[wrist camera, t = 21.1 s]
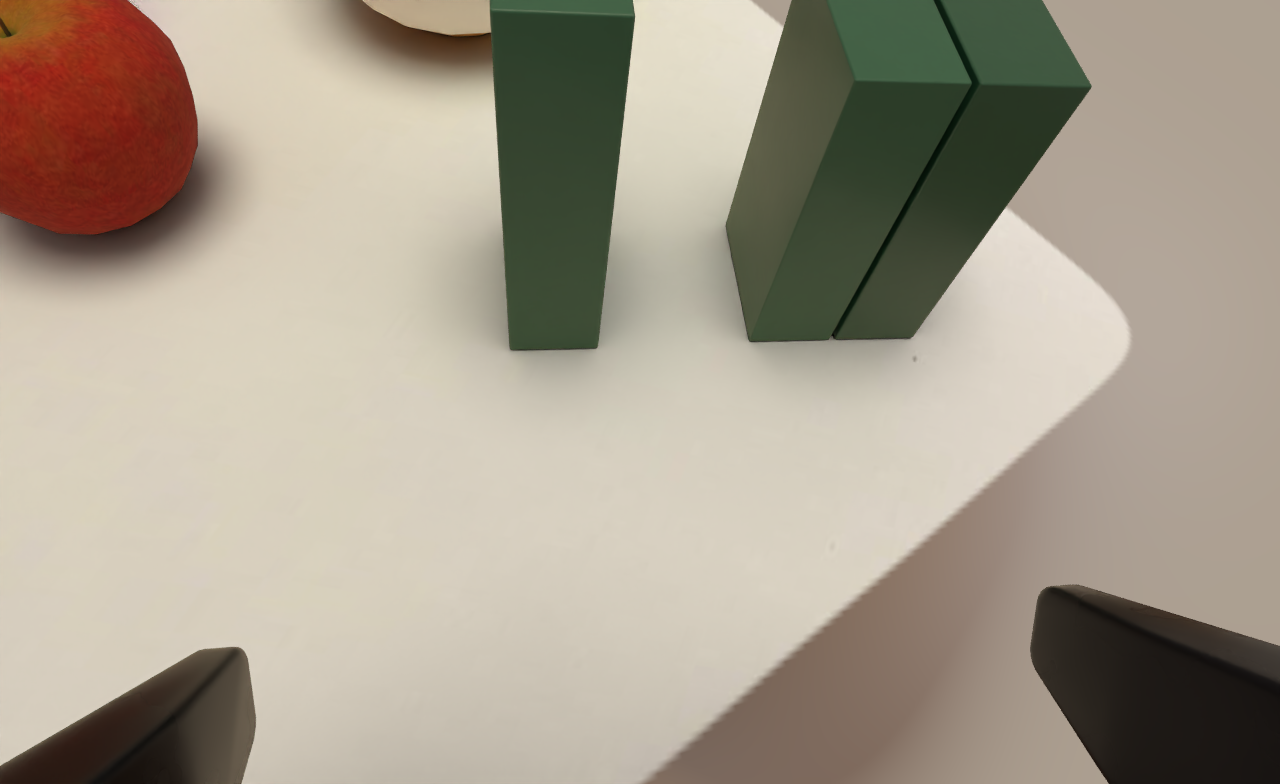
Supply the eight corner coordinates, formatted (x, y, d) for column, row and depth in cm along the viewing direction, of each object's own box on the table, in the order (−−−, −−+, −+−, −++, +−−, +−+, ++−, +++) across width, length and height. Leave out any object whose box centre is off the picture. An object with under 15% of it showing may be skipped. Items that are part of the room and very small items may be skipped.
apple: (204, 282, 27) (92, 90, 20) (-51, 277, 26) (-259, 74, 19) (247, 124, 31) (165, -80, 24) (28, 115, 30) (-122, -101, 23)
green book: (597, 348, 27) (636, 15, 16) (509, 350, 27) (489, 9, 16) (587, 227, 30) (614, -125, 19) (507, 227, 29) (488, -133, 19)
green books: (912, 338, 29) (1093, 86, 19) (748, 342, 28) (855, 79, 18) (875, 224, 32) (1017, -44, 22) (725, 224, 31) (807, -56, 21)
